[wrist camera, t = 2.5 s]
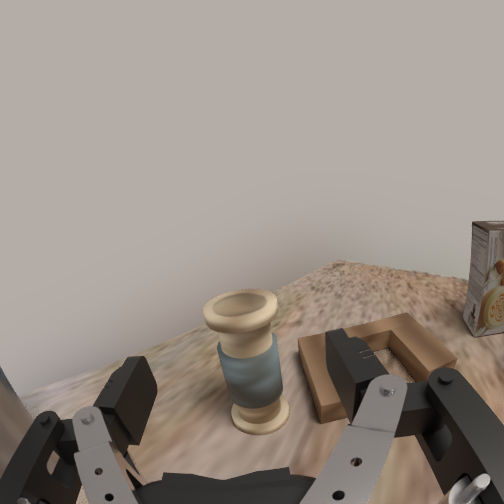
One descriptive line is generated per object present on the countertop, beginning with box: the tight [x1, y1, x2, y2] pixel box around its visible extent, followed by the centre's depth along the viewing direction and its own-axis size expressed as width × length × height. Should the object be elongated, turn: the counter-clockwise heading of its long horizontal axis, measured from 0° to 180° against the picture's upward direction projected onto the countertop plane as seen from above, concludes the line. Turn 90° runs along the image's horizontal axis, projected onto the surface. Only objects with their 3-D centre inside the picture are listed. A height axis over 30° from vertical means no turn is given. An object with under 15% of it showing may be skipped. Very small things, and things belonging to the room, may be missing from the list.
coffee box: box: [463, 221, 504, 337], centre depth 27 cm, size 9×6×16 cm
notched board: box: [298, 313, 457, 424], centre depth 29 cm, size 17×13×3 cm
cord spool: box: [203, 289, 289, 435], centre depth 24 cm, size 6×6×14 cm
